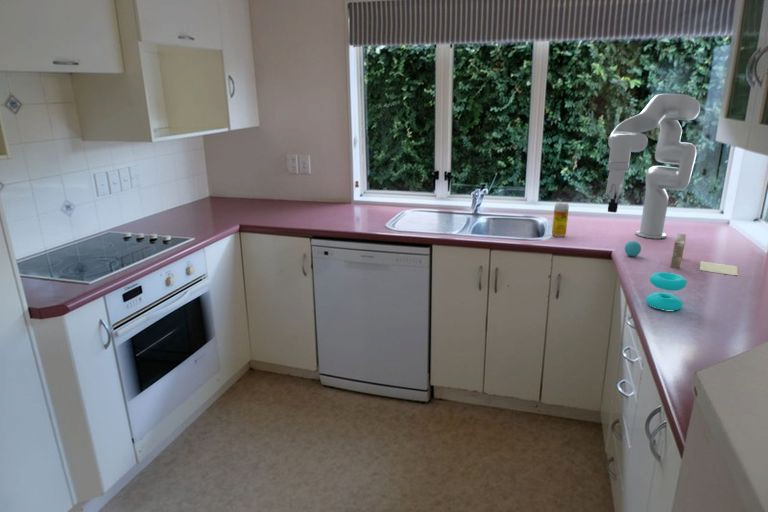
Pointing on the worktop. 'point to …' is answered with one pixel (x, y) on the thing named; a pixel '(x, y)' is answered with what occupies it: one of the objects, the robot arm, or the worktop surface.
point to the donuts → (666, 283)
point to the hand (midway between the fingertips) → (612, 211)
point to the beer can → (560, 219)
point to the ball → (632, 248)
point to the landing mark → (718, 268)
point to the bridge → (678, 250)
